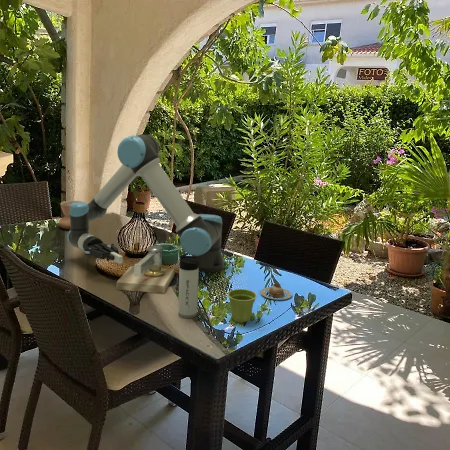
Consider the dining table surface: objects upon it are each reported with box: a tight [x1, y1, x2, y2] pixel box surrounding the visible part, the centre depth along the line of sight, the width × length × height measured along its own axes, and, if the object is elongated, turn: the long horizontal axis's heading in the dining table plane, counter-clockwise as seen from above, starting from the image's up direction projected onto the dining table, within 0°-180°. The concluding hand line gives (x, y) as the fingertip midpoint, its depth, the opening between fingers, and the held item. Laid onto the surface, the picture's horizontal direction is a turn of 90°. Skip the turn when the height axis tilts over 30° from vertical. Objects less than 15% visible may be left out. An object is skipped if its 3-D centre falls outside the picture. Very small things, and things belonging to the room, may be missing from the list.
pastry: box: [259, 283, 293, 301], centre depth 174 cm, size 12×12×5 cm
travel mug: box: [177, 254, 200, 319], centre depth 153 cm, size 6×7×20 cm
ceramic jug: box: [58, 200, 83, 231], centre depth 250 cm, size 18×14×14 cm
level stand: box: [116, 265, 175, 294], centre depth 180 cm, size 18×18×3 cm
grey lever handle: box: [133, 245, 165, 277], centre depth 174 cm, size 21×8×10 cm, turn 169°
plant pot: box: [227, 288, 258, 323], centre depth 152 cm, size 9×9×9 cm
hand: (120, 259), depth 174 cm, fingers closed
